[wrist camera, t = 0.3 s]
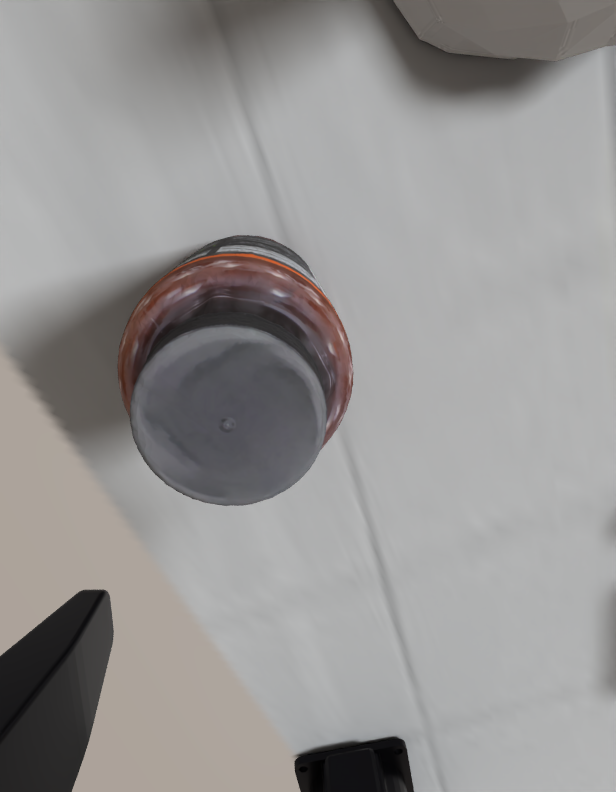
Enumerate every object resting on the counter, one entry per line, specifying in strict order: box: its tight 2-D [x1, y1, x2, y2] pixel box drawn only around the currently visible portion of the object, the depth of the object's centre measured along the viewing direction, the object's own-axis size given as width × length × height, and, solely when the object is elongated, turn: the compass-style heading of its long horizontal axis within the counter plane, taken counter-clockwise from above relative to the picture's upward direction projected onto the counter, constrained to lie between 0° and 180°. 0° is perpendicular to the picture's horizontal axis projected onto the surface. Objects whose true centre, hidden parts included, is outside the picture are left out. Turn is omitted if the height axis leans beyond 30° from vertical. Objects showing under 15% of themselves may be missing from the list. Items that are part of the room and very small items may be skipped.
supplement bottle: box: [118, 235, 353, 506], centre depth 16 cm, size 6×6×11 cm
